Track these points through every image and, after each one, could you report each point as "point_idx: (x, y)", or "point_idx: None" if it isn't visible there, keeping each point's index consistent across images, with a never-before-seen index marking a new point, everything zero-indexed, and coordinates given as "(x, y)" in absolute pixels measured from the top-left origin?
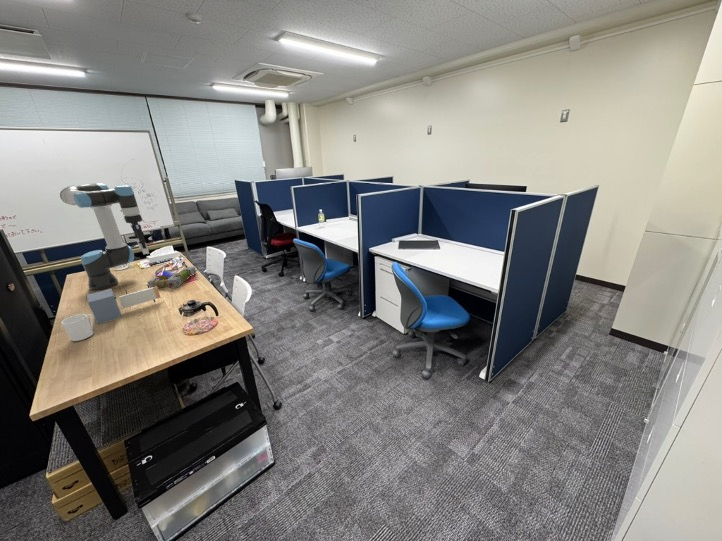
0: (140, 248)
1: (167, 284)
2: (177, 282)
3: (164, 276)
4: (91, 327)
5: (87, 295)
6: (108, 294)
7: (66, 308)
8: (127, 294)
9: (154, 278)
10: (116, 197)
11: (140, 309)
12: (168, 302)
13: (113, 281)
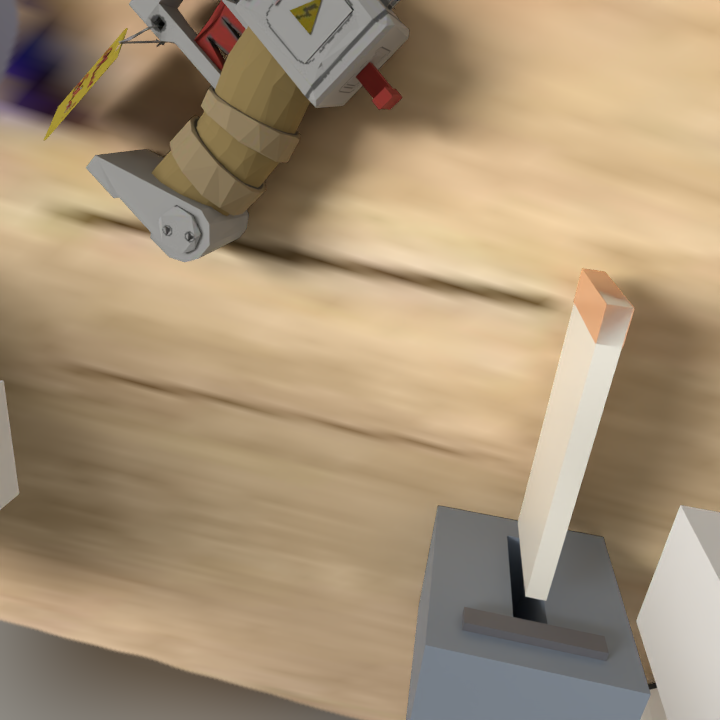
0: (2, 488)
1: (309, 103)
2: (388, 2)
3: (107, 63)
4: None
5: None
6: (570, 700)
7: (142, 651)
8: (551, 543)
9: (117, 174)
10: None
11: None
12: (692, 232)
13: None
